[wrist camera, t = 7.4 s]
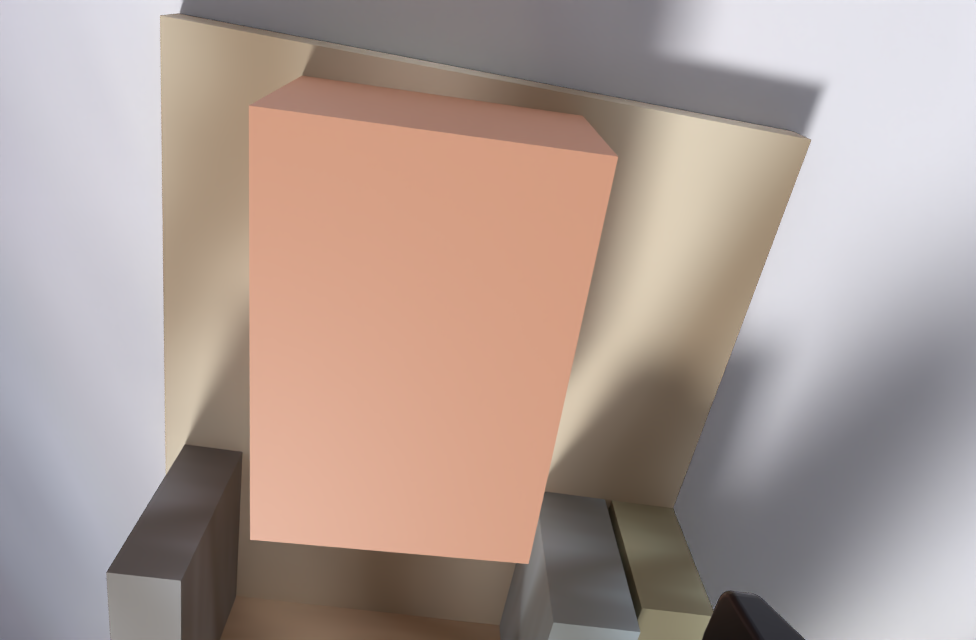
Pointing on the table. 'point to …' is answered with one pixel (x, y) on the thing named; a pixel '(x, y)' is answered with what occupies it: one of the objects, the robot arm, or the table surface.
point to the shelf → (588, 402)
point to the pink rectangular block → (413, 314)
